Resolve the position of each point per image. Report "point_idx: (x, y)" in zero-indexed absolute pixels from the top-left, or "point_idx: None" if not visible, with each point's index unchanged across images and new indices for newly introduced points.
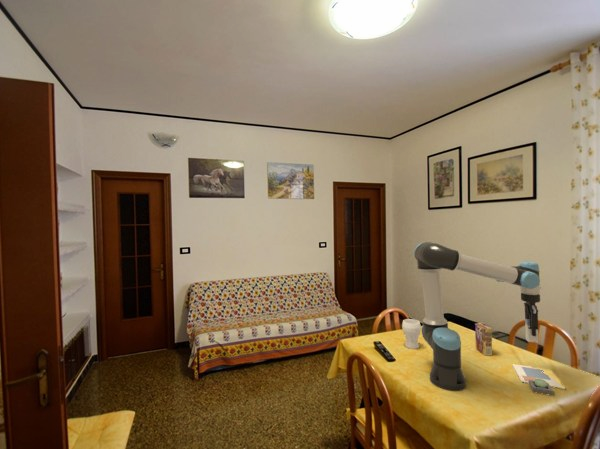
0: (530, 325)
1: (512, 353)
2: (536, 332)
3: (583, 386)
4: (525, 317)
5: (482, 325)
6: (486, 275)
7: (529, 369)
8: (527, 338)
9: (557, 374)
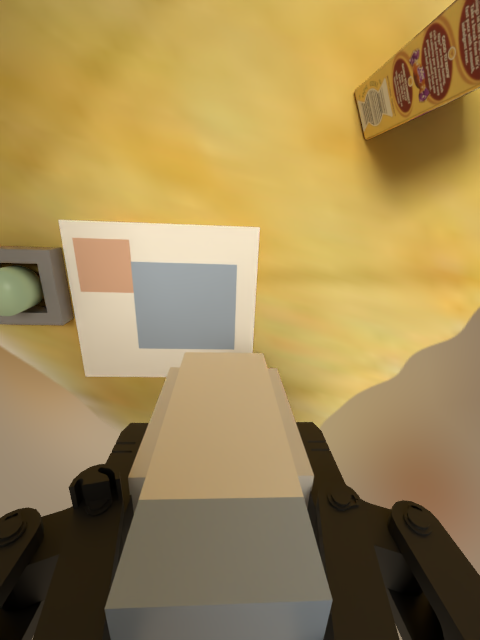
0: (72, 550)
1: (413, 266)
2: None
3: None
4: (471, 614)
5: None
6: None
7: (217, 292)
8: (202, 363)
9: None
